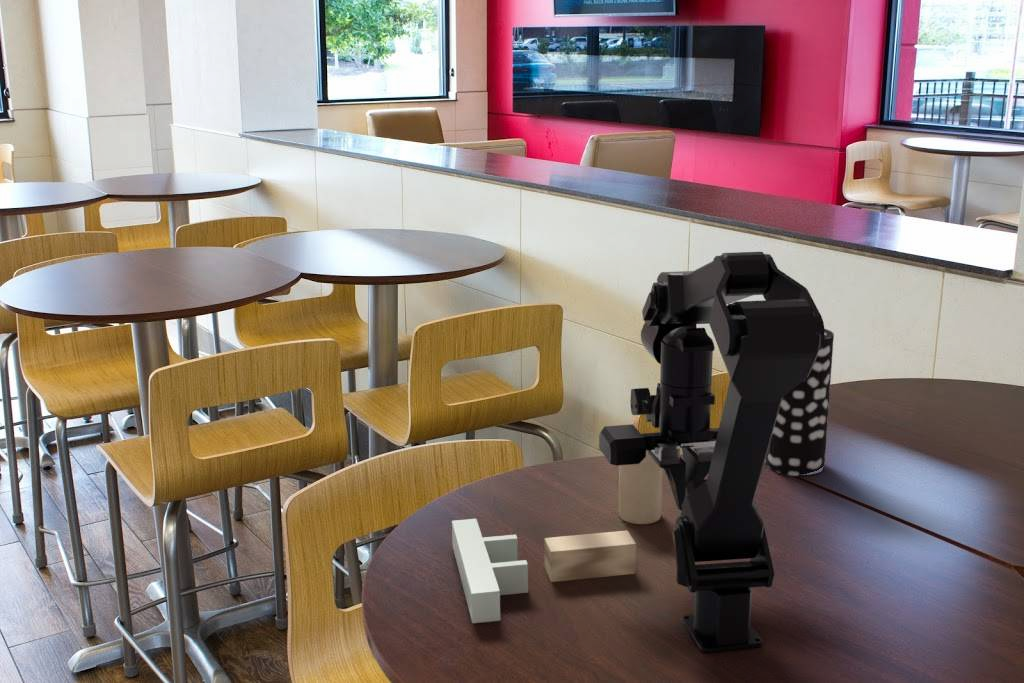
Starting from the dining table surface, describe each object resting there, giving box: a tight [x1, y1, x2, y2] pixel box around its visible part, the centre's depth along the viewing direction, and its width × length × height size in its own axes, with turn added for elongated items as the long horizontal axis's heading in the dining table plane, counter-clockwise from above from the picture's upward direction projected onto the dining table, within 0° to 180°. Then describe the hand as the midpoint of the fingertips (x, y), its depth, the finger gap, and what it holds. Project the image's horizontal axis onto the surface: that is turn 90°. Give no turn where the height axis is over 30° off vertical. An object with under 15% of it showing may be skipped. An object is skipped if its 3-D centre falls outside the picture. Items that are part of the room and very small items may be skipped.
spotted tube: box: [765, 328, 835, 477], centre depth 146 cm, size 8×8×20 cm
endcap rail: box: [451, 518, 529, 624], centre depth 117 cm, size 18×7×4 cm, turn 10°
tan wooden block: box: [543, 530, 637, 583], centre depth 118 cm, size 10×4×4 cm, turn 100°
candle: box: [618, 450, 663, 525], centre depth 131 cm, size 6×6×10 cm
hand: (681, 508), depth 119 cm, fingers closed
